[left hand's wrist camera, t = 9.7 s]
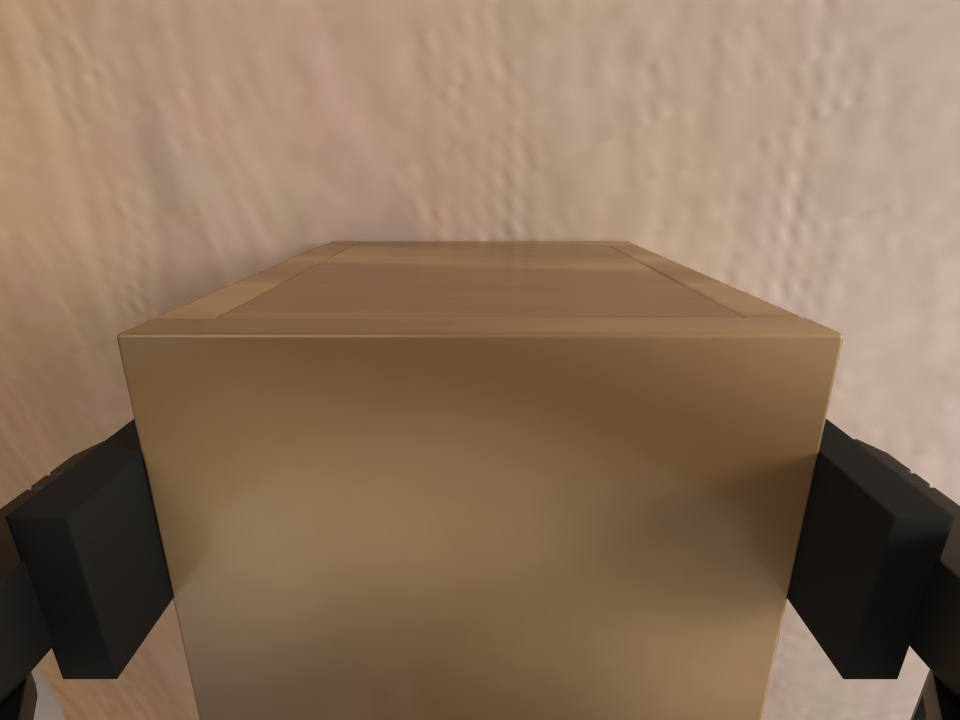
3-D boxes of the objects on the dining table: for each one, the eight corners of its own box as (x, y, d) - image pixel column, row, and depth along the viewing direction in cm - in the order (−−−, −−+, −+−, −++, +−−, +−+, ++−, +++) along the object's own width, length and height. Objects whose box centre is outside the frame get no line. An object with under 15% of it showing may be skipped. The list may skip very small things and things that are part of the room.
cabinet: (597, 623, 24) (699, 1010, 13) (363, 623, 24) (261, 1010, 13) (629, 241, 19) (846, 333, 8) (330, 241, 19) (113, 333, 8)
